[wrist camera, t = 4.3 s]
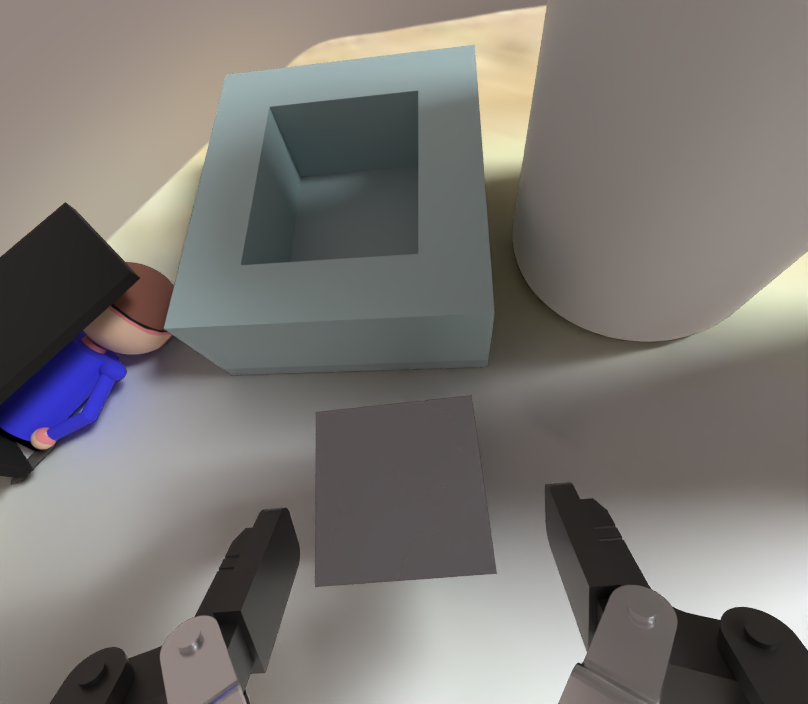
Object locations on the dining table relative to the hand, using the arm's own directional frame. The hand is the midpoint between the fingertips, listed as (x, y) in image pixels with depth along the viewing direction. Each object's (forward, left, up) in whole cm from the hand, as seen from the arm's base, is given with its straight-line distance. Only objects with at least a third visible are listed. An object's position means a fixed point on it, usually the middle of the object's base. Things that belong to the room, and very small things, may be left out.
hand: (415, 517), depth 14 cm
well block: (+4, -16, -7) cm, 18 cm away
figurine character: (+20, -7, -7) cm, 22 cm away
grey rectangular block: (0, -1, -7) cm, 7 cm away
